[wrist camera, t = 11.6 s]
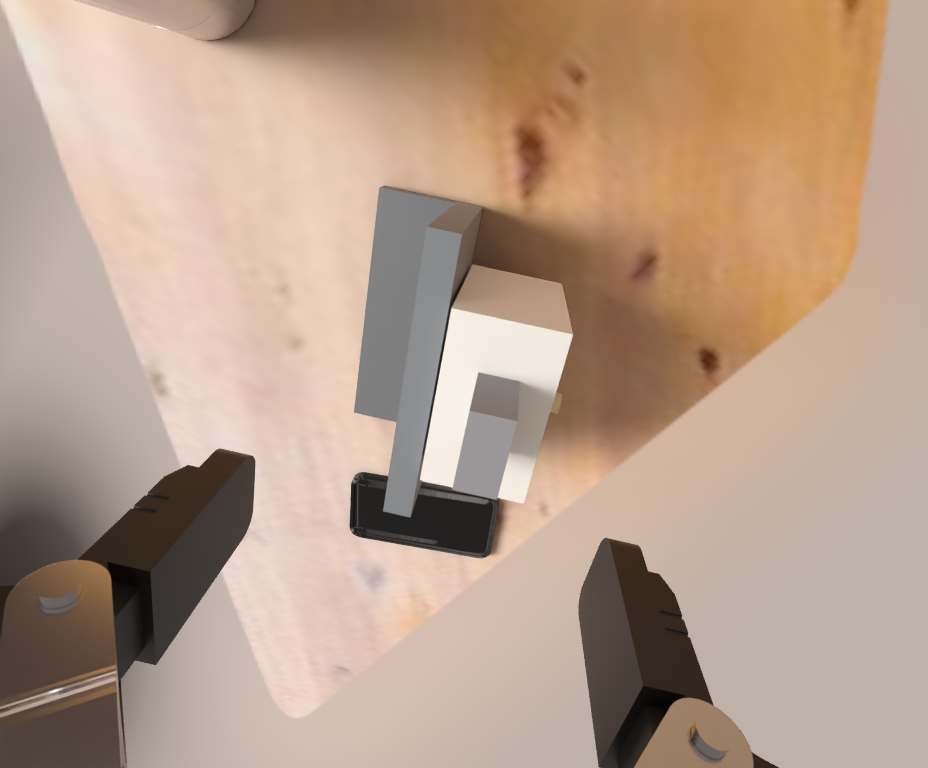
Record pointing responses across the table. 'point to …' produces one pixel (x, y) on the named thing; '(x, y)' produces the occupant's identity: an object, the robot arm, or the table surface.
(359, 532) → the phone
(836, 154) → the table surface
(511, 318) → the cabinet
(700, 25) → the table surface
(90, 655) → the robot arm
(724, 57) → the table surface
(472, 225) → the wall board
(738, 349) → the table surface
